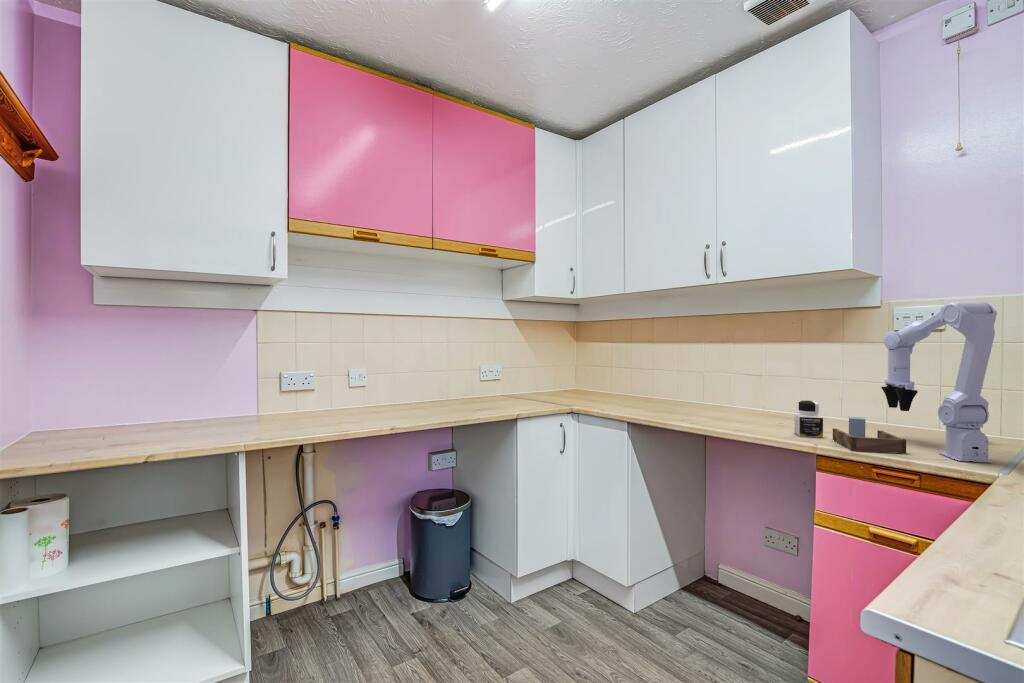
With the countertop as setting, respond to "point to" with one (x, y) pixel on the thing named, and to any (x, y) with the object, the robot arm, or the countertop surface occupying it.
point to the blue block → (857, 426)
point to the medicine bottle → (808, 420)
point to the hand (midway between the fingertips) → (898, 409)
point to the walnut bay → (871, 442)
